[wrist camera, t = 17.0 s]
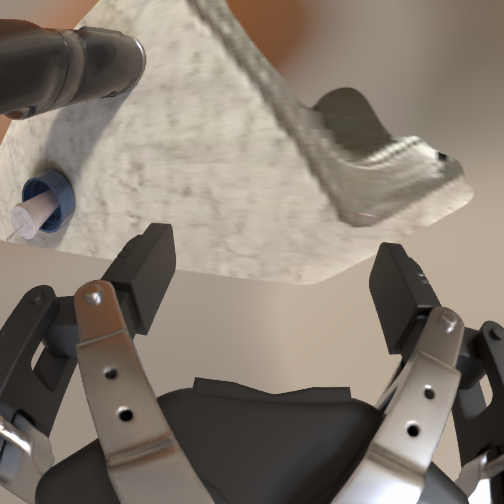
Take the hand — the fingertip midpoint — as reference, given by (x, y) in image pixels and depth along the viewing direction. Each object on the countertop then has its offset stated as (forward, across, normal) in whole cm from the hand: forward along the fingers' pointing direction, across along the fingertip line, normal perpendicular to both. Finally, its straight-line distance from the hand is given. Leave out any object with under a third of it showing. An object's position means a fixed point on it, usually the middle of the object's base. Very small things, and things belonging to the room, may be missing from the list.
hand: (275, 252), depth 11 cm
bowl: (+30, +40, +11) cm, 51 cm away
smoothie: (+30, +40, +12) cm, 51 cm away
